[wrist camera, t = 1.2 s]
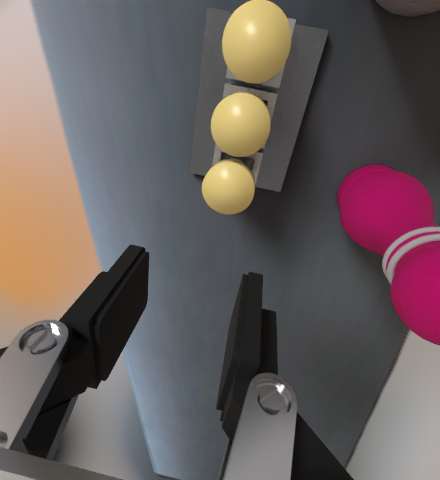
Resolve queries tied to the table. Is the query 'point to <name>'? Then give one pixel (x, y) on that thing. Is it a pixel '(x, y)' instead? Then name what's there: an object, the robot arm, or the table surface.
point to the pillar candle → (410, 7)
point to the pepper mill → (398, 240)
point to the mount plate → (270, 92)
